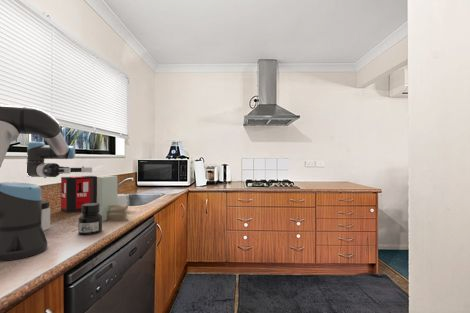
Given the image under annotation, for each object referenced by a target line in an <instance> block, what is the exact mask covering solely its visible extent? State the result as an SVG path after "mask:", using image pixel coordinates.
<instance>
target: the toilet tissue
mask: <svg viewBox="0 0 470 313" xmlns="http://www.w3.org/2000/svg"><path fill="white" fill-rule="evenodd" d="M117 205H121V206H127V193H125V194H124V193H117Z"/></svg>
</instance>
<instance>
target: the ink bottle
mask: <svg viewBox="0 0 470 313" xmlns="http://www.w3.org/2000/svg"><path fill="white" fill-rule="evenodd" d="M99 212H100V203H87V204H82V209H81V212H80V213H81V215H80V216H79V217H78V221H77V224H78V228H77V231H78V232H77V233H78V234H79V235H83V236H87V235H88V236H89V235H95V234H99V233H101V232H102V231H103V221H102V215H100V214H99Z"/></svg>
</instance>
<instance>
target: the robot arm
mask: <svg viewBox="0 0 470 313" xmlns="http://www.w3.org/2000/svg"><path fill="white" fill-rule="evenodd" d="M61 131H62V127H61V124H60V123H59V121H58V120H57V119H56V118H55V117H53V115H51V114H49V113H48V112H47V111H44V110H42V109H41V108H37V107H32V106H20V105H17V106H16V105H6V104H0V168H1V167H2V164H3V162H4V160H5V158H6V155H7V153H8V150H9V147H10V146H11V143H12V142H13V141H16V140H17V139H18V137H19V136H20V135H38V136H39V137H41V138H43V139H44V141H29V142H27V149H26V156H27V155H28V157H26V164H27V173H28V175H29V176H28V177H30V176H31V178H44V179H47V178H57V177H58V176H60V174H62V175H63V174H66V175H67V174H71V173H93V167H86V166H82V167H69V166H60V164H58V163H54V162H52V163H51V162H46V163H45V159H46V160H49V159H51V160H72V159H74V158H75V156H76V148H75V146H73V145H68V143H67V141H66V139H65V137H64V136H63V134H62V132H61ZM45 142H46V143H47V144H46V143H45ZM42 201H43V196H42V188H41V187H40V186H39V185H37V184H34V183H30V182H29V183H27V182H9V181H8V182H0V262H5V261H6V262H7V261H14V260H20V259H26V258H29V257H33V256H34V255H39V254H41V253H43V252H44V251H46V250H47V249H48V239H47V238H46V235H45V234H46V233H45V232H44V231H43V229H42V226H41V216H42Z"/></svg>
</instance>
